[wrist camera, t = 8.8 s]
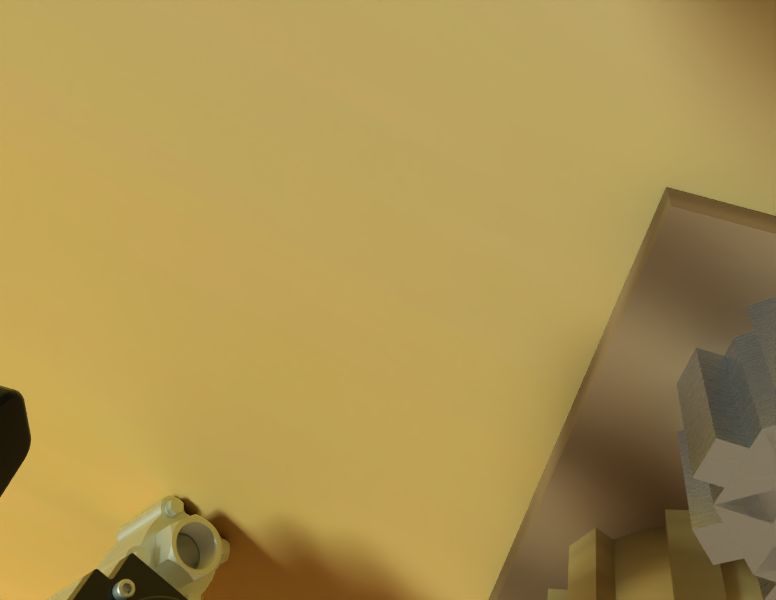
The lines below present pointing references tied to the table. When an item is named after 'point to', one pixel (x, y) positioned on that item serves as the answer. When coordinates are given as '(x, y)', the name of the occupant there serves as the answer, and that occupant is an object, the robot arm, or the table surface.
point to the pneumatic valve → (156, 558)
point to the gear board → (645, 422)
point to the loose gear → (734, 447)
